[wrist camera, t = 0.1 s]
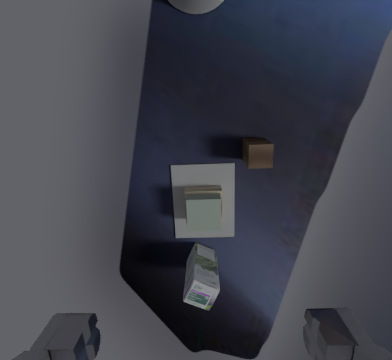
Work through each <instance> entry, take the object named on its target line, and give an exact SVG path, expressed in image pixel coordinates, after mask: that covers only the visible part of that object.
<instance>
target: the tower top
mask: <svg viewBox="0 0 392 360" xmlns="http://www.w3.org/2000/svg"><path fill="white" fill-rule="evenodd" d="M186 211H187V229H188V231H221V197H220V193H202V194H187V196H186Z"/></svg>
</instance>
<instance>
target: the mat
mask: <svg viewBox="0 0 392 360" xmlns="http://www.w3.org/2000/svg"><path fill="white" fill-rule="evenodd" d="M234 170H235V163H216V164H186V165H171V177H172V191H173V205H174V220H175V234H176V238H201V237H234ZM220 185H221V188H222V225H221V231H188V229H187V226H186V211H185V193H184V191H185V187H187V186H220Z"/></svg>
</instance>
